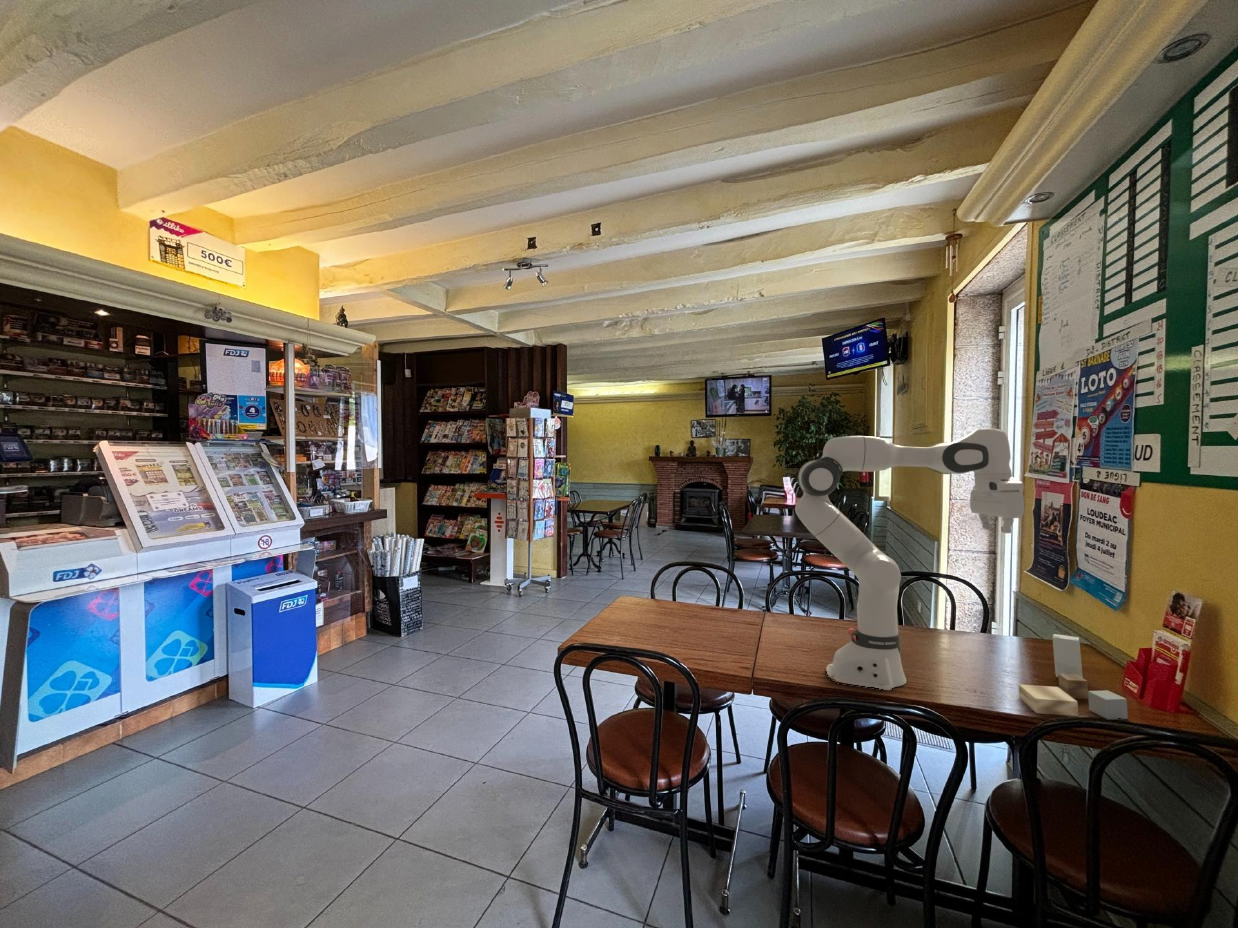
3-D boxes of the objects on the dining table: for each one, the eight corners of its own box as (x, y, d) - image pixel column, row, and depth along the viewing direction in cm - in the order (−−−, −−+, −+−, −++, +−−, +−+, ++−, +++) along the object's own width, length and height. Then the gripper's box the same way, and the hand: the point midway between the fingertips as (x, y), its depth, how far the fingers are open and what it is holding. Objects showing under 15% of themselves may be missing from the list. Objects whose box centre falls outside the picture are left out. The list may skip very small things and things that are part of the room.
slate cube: (1107, 719, 127) (1106, 699, 127) (1089, 710, 132) (1088, 690, 132) (1127, 718, 127) (1126, 698, 127) (1108, 709, 132) (1107, 690, 132)
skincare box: (1082, 677, 151) (1080, 636, 151) (1082, 682, 148) (1080, 640, 148) (1055, 672, 155) (1053, 632, 156) (1054, 677, 152) (1052, 636, 152)
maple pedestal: (1036, 714, 132) (1035, 698, 132) (1019, 698, 140) (1018, 684, 140) (1078, 717, 129) (1077, 701, 129) (1058, 701, 138) (1057, 686, 138)
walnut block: (1068, 698, 139) (1067, 679, 139) (1059, 691, 143) (1058, 673, 143) (1088, 699, 138) (1087, 680, 138) (1078, 692, 142) (1077, 674, 142)
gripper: (962, 483, 159) (965, 527, 159) (1002, 485, 139) (1005, 535, 138) (984, 482, 158) (987, 526, 158) (1027, 484, 138) (1031, 535, 138)
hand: (996, 531), depth 148 cm, fingers open, 8 cm apart
